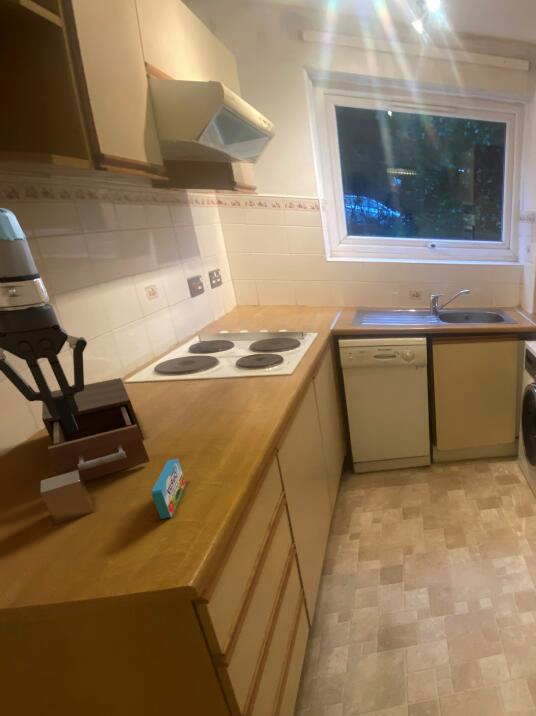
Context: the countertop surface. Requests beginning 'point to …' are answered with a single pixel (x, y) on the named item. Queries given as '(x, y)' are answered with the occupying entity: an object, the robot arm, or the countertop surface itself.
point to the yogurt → (168, 488)
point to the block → (66, 496)
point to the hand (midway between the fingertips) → (72, 429)
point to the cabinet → (95, 402)
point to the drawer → (98, 444)
